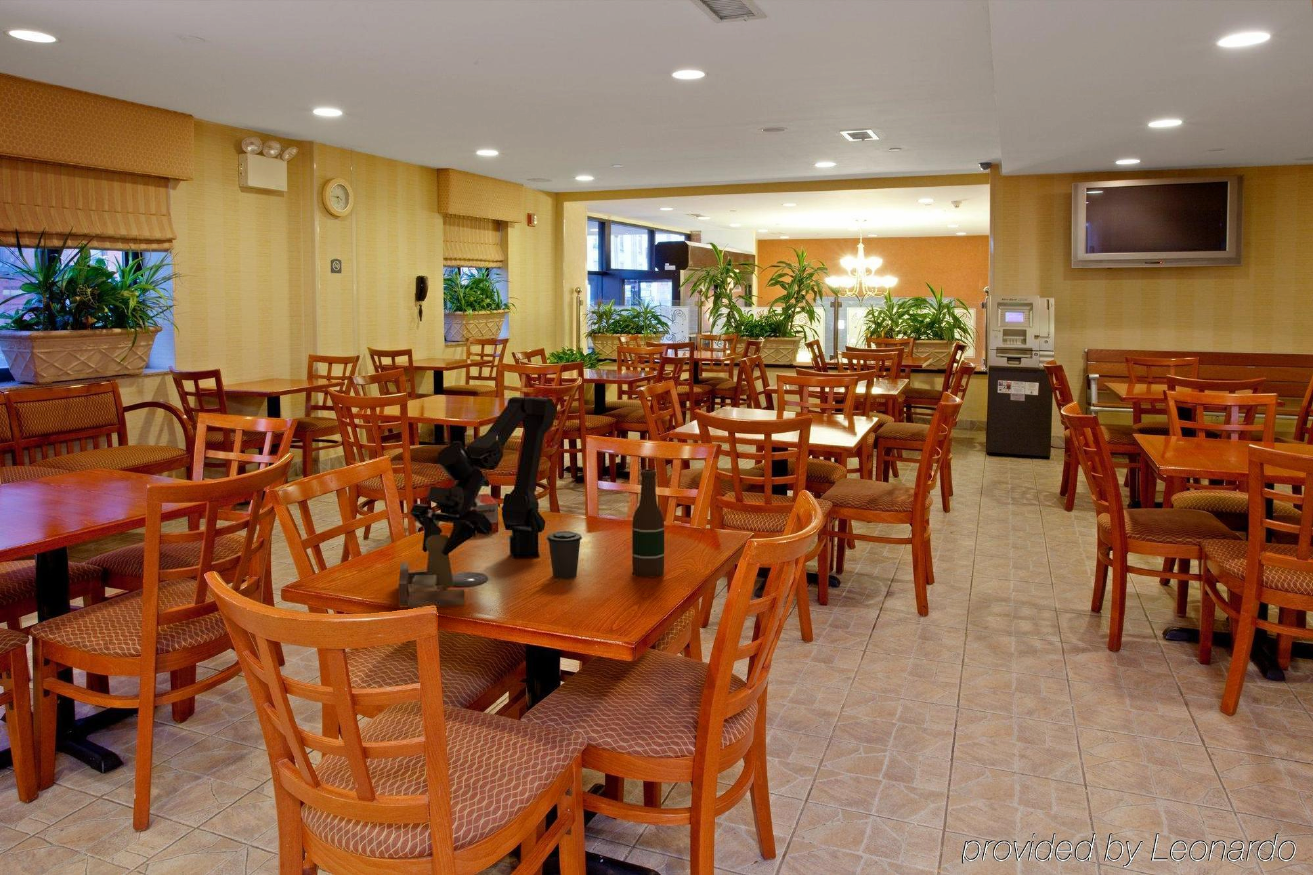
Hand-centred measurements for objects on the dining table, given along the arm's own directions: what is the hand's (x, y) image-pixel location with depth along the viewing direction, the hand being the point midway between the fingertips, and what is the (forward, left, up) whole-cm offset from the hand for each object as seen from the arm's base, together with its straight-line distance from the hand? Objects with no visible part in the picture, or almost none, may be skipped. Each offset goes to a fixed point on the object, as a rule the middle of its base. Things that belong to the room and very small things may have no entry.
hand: (434, 552), depth 204 cm
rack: (0, +1, -9) cm, 9 cm away
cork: (-1, -1, -8) cm, 8 cm away
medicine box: (-12, -58, -9) cm, 60 cm away
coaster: (-7, -8, -9) cm, 14 cm away
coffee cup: (-29, -6, -9) cm, 31 cm away
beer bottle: (-48, -4, -9) cm, 49 cm away
